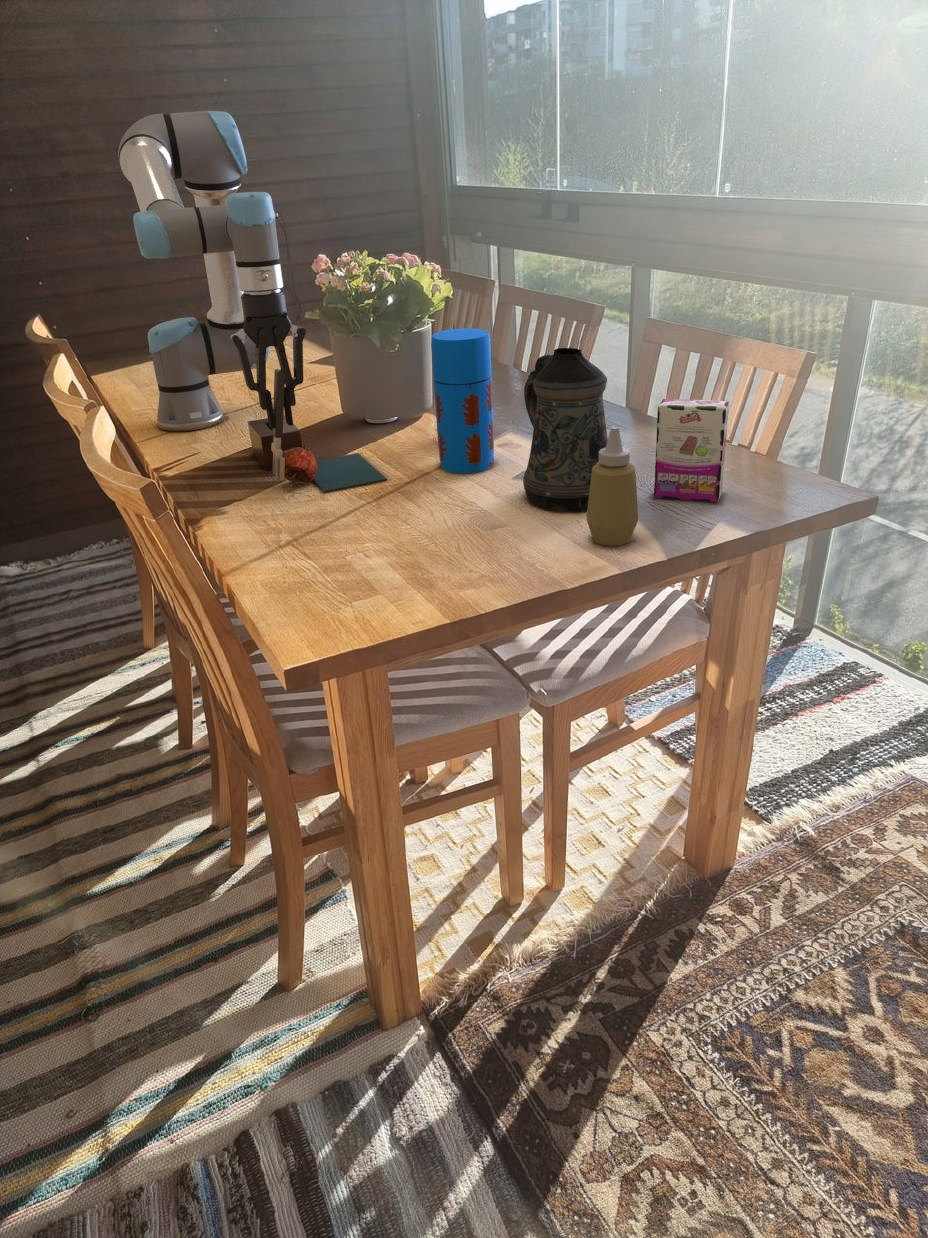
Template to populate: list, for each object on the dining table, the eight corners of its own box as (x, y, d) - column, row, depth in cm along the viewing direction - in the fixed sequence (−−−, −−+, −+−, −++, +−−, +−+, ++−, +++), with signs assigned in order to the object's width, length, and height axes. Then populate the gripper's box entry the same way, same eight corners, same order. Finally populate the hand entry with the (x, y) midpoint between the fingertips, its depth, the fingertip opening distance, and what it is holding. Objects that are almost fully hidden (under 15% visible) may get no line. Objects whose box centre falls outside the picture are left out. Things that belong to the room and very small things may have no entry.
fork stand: (253, 453, 188) (247, 421, 184) (289, 447, 190) (284, 415, 187) (266, 470, 177) (260, 437, 174) (305, 463, 180) (300, 430, 176)
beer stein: (592, 519, 146) (595, 367, 134) (492, 501, 156) (486, 358, 144) (631, 487, 158) (637, 344, 146) (536, 472, 168) (534, 337, 156)
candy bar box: (722, 493, 153) (731, 399, 145) (718, 503, 149) (727, 408, 141) (657, 488, 157) (662, 396, 149) (652, 498, 153) (657, 404, 145)
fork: (268, 470, 169) (272, 367, 161) (277, 470, 170) (281, 367, 162) (275, 479, 165) (279, 373, 156) (284, 479, 165) (288, 374, 157)
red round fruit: (312, 500, 167) (332, 458, 171) (292, 478, 161) (313, 434, 165) (282, 498, 170) (302, 456, 174) (261, 476, 165) (282, 433, 168)
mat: (300, 465, 179) (299, 463, 179) (358, 454, 183) (358, 452, 183) (324, 492, 164) (324, 490, 164) (386, 480, 168) (386, 478, 168)
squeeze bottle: (581, 531, 142) (582, 421, 134) (630, 527, 143) (635, 417, 134) (591, 551, 135) (593, 437, 127) (643, 547, 136) (649, 433, 127)
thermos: (501, 457, 177) (497, 328, 164) (484, 475, 168) (478, 340, 156) (450, 454, 180) (442, 327, 168) (431, 471, 171) (421, 339, 159)
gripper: (220, 298, 147) (242, 436, 158) (311, 289, 152) (327, 423, 163) (212, 292, 153) (235, 426, 164) (301, 284, 158) (316, 414, 169)
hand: (280, 424), depth 164 cm, fingers closed on fork, 3 cm apart
